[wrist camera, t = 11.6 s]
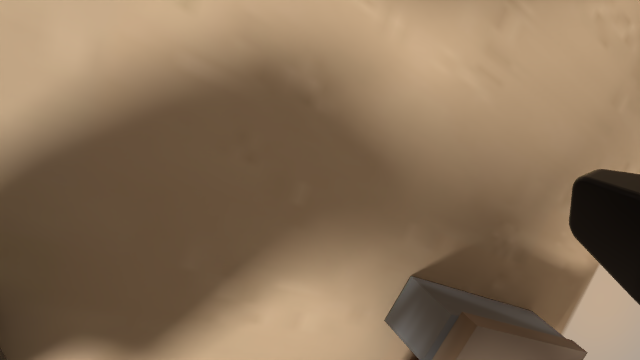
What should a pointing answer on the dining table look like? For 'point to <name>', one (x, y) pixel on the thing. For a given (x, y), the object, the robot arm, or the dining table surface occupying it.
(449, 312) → the plank bridge
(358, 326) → the dining table surface
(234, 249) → the dining table surface
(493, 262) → the dining table surface
